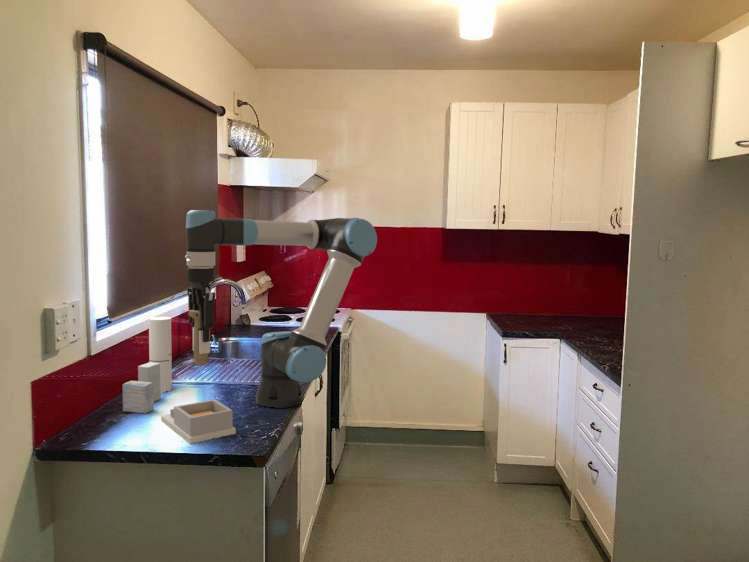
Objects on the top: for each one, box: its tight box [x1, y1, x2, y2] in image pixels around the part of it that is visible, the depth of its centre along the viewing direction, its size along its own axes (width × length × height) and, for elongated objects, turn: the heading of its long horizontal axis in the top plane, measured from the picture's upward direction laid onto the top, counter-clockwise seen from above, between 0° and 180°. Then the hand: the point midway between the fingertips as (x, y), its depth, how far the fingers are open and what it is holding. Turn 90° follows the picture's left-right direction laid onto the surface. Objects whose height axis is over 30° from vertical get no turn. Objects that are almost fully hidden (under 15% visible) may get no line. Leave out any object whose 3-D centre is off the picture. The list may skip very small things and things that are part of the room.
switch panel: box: [160, 399, 237, 445], centre depth 167 cm, size 13×22×6 cm, turn 39°
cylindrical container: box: [148, 316, 173, 393], centre depth 201 cm, size 7×7×25 cm
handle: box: [188, 309, 209, 366], centre depth 161 cm, size 5×6×15 cm
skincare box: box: [137, 361, 162, 402], centre depth 189 cm, size 6×4×12 cm
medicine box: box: [122, 380, 155, 414], centre depth 179 cm, size 8×4×9 cm, turn 77°
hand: (201, 351), depth 162 cm, fingers closed on handle, 4 cm apart
